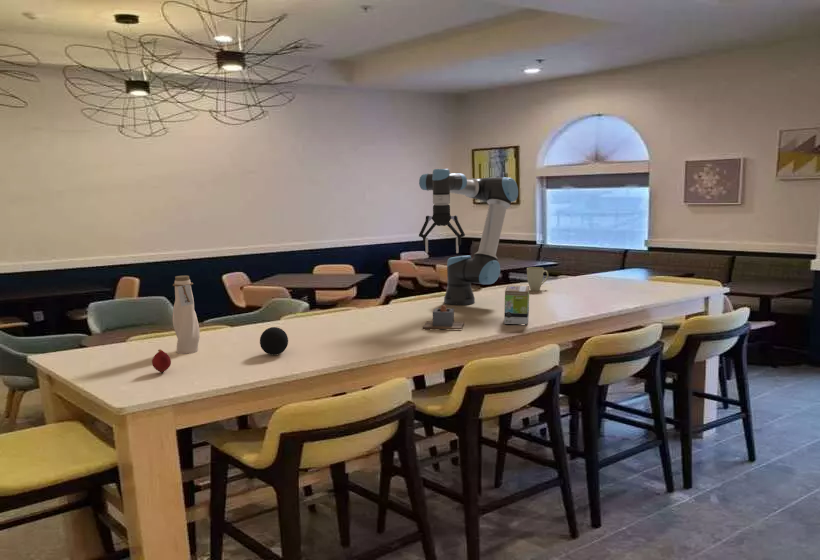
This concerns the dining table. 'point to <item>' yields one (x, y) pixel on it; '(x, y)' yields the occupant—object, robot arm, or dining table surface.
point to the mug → (535, 277)
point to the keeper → (429, 325)
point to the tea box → (516, 305)
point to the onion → (161, 361)
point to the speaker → (273, 341)
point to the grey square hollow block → (443, 317)
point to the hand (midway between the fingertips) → (442, 252)
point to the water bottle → (185, 317)
